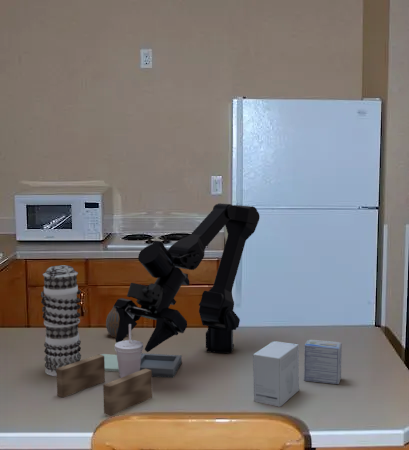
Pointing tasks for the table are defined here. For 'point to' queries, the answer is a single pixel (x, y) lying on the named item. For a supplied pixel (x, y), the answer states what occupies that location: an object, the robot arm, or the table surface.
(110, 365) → the mat
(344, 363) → the table surface
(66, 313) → the decorative candle
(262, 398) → the skincare box
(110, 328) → the vase
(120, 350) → the smoothie
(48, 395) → the table surface
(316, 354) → the medicine box
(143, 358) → the tray
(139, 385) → the lane
